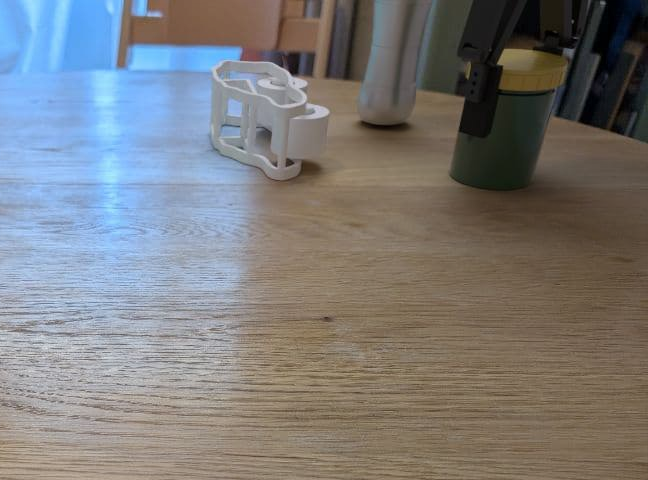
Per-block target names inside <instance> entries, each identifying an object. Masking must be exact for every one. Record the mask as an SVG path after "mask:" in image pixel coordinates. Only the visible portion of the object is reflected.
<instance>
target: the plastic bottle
mask: <svg viewBox="0 0 648 480" xmlns="http://www.w3.org/2000/svg"><path fill="white" fill-rule="evenodd" d="M432 4H433V0H373V19H372V20H373V24H372V33H371V39H372V40H371V44H370V52H369V56H368V61H367V64H366V69H365V73H364V78H363V79H364V80H363V81H362V82H361V86H360V89H359V92H358V95H357V99H356V101H357V102H356V104H357V108H356V109H357V114H358V116H359V119H360V120H361V121H362V122H365V123H367V124H372V125H377V126H394V125H400V124H404V123H405V122H406V121H407V120H408V119H409V118H410V117H411V116H412V114H413V111H414V108H415V105H416V103H417V101H416V99H417V83H416V81H417V74H418V73H417V72H418V63H419V53H420V49H421V42H422V40H423V36H424V32H425V27H426V23H427V20H428V17H429V14H430V11H431V8H432V6H433V5H432Z"/></svg>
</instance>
